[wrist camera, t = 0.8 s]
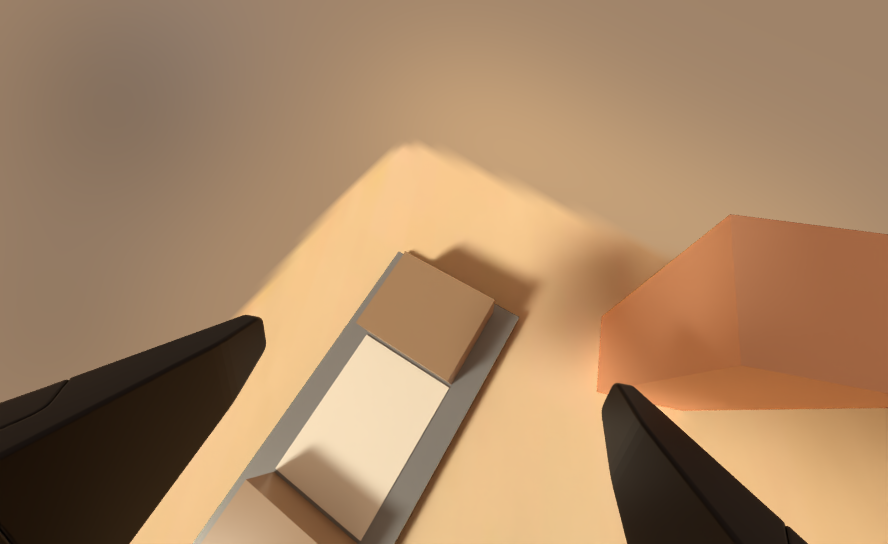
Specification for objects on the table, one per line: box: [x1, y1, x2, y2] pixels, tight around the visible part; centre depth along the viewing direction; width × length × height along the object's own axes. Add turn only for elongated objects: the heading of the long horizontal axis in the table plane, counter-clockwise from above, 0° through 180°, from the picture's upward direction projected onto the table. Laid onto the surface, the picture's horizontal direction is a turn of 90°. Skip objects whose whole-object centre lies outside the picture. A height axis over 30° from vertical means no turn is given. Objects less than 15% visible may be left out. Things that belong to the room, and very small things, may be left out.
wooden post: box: [597, 214, 888, 411], centre depth 15 cm, size 4×4×12 cm
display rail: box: [193, 251, 519, 544], centre depth 19 cm, size 20×9×3 cm, turn 148°
